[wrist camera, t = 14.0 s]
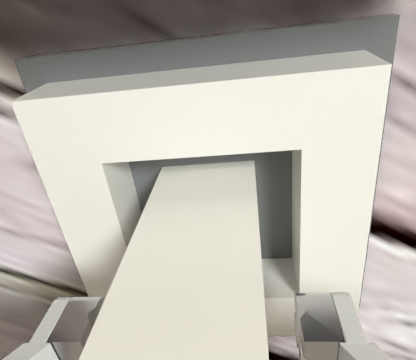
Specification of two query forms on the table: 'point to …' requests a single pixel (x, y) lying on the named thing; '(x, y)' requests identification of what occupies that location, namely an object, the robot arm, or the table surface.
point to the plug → (189, 273)
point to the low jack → (220, 142)
